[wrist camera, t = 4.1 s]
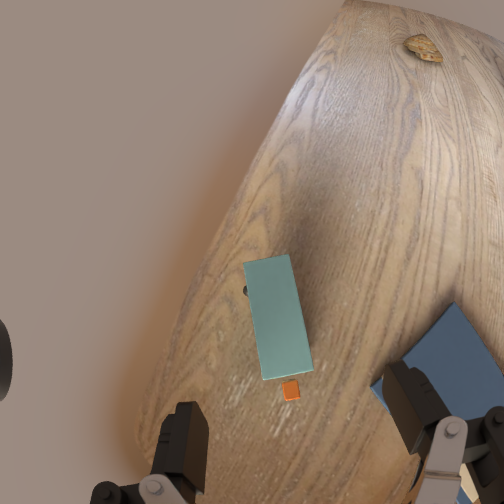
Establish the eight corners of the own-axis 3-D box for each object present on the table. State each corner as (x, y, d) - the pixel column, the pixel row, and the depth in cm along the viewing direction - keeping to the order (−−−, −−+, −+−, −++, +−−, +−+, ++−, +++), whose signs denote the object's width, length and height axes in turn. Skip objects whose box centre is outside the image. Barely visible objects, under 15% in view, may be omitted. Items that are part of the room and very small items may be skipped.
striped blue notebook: (527, 429, 12) (531, 430, 12) (461, 509, 11) (464, 511, 10) (451, 302, 19) (454, 300, 19) (369, 386, 18) (371, 387, 17)
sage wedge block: (311, 387, 18) (325, 394, 12) (268, 396, 19) (259, 407, 12) (292, 293, 22) (294, 252, 15) (252, 301, 22) (235, 264, 15)
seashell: (407, 49, 33) (405, 23, 33) (401, 66, 39) (400, 40, 39) (449, 63, 31) (444, 36, 31) (440, 79, 37) (437, 52, 37)
